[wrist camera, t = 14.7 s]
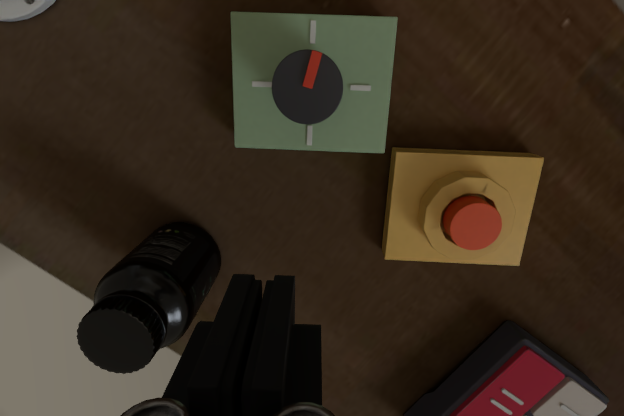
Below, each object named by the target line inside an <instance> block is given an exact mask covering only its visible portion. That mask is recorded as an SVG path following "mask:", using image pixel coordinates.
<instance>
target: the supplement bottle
mask: <svg viewBox="0 0 624 416" xmlns="http://www.w3.org/2000/svg"><path fill="white" fill-rule="evenodd" d="M220 266H221V255H220V251H219V248H218V246H217V244H216V242H215V241H214V239H213V238H212V237H211V236H210V235H209V234H208V233H207V232H206V231H204V230H203V229H201V228H200V227H198V226H196V225H193V224H189V223H184V222H174V223H169V224H166V225H163V226H161V227H159V228H158V229H156V230H155V231H154V232H153V233H151V234H150V235H149V236H148V237H147V238H146V239H144V240H143V241H142V242H141V243H140V244H139V245H138V246H137V247H135V248H134V249H133V250H132V251H131V252H130V253H129V254H127V255H126V256H125V257H124V258H123V259H122V260H121V261H120V262H118V263H117V264H116V265H115V266H114V267H113V268H112V269H110V270H109V271H108V272H107V273H106V274H105V275H104V276H103V278H102V279H101V280H100V282H99V283H98V285H97V288H96V290H95V294H94V306H93V307H92V309H91V310H90V311H89V312H88V313H87V314H86V315H85V316H84V317H83V318H82V321H81V322H80V323H79V328H78V329H77V333H78V335H77V339H78V344H79V345H80V349H81V350H82V351H83V352H84V355H85V356H86V357H87V358H88V359H89V360H90V361H91V362H93V363H94V364H95V365H96V366H99V367H100V368H102V369H105V370H107V371H109V372H115V373H123V374H125V373H132V372H133V371H138V370H139V369H142V368H144V367H145V365H147V364H148V363H149V362H150V361H151V359H152V358H153V357H154V355H155V354H156V352H157V351H158V350H159V349H160V348H164V347H166V346H169V345H171V344H173V343H174V342H176V341H177V340H178V339H180V338H181V337H182V336H183V335H184V333H185V332H186V331H187V329H188V328H189V326H190V324H191V323H192V321H193V319H194V317H195V315H196V314H197V312H198V310H199V308H200V306H201V305H202V303H203V301H204V299H205V297H206V296H207V294H208V292H209V290H210V288H211V287H212V285H213V283H214V281H215V279H216V277H217V275H218V273H219V270H220Z"/></svg>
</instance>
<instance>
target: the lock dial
mask: <svg viewBox="0 0 624 416" xmlns="http://www.w3.org/2000/svg"><path fill="white" fill-rule="evenodd" d="M272 95H273V99H274V102H275V104H276V106H277V107H278V109H279V110H280V111H281V113H282V114H283V115H284V116H285V117H287V118H288V119H290V120H292V121H294V122H296V123H300V124H306V125H307V124H316V123H319V122H322V121H324V120H325V119H327V118H328V117H330V116H331V115H332V114H333V113H334V112H335V110H336V109H337V108H338V106H339V104H340V101H341V99H342V95H343V79H342V76H341V73H340V70H339V69H338V67H337V65H336V64H335V63H334V61H333V60H332V59H331V58H329V57H328V56H327V55H325V54H324V53H322V52H319V51H316V50H310V49H305V50H298V51H296V52H293V53H291V54H289V55H288V56H286V57H285V58H284V59H283V60H282V61H281V62H280V63H279V65H278V66H277V68H276V70H275V72H274V75H273V79H272Z"/></svg>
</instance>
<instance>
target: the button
mask: <svg viewBox="0 0 624 416" xmlns="http://www.w3.org/2000/svg"><path fill="white" fill-rule="evenodd" d="M443 225H444V228H445V230H446V232H447V233H448V235H449V236H450V237H451V238H452V240H453V241H454V242H455V243H456V244H457V245H458V246H459V247H461V248H463V249H467V250H479V249H483V248H485V247H487V246H489V245H491V244H492V243H493V242H494V241H495V240H496V239H497V237H498V236H499V234H500V232H501V228H502V219H501V216H500V214H499V212H498V211H497V210H496V209H495V208H494V207H493V206H491V205H490V204H489V203H488V202H486V201H485V200H484V199H482V198H480V197H477V196H464V197H461V198H459V199H457V200H455V201H454V202H452V203H451V204H450V205H449V206H448V208H447V209H446V211H445V213H444V217H443Z"/></svg>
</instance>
